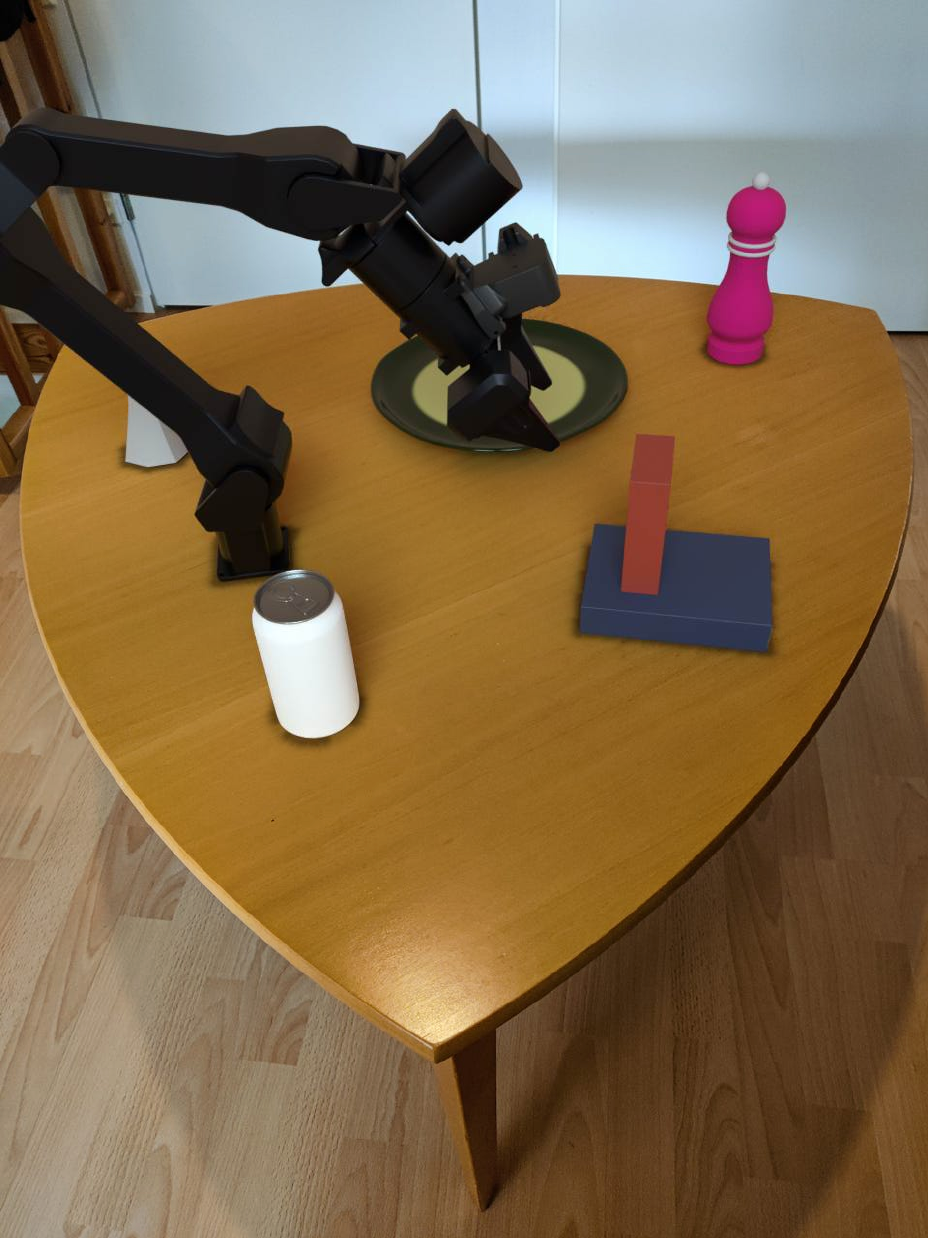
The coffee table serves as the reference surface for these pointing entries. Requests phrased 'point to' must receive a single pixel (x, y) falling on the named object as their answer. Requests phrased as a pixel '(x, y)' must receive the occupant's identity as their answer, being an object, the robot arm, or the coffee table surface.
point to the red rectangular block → (647, 513)
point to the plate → (571, 405)
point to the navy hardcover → (683, 591)
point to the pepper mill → (746, 275)
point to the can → (306, 653)
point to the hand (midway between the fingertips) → (551, 415)
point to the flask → (150, 439)
